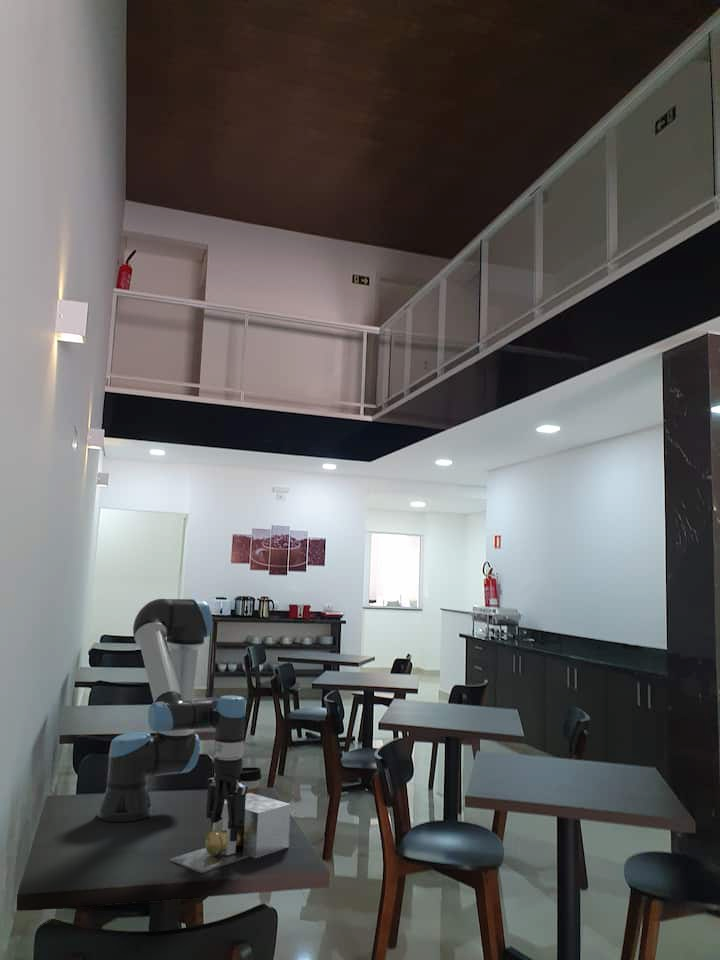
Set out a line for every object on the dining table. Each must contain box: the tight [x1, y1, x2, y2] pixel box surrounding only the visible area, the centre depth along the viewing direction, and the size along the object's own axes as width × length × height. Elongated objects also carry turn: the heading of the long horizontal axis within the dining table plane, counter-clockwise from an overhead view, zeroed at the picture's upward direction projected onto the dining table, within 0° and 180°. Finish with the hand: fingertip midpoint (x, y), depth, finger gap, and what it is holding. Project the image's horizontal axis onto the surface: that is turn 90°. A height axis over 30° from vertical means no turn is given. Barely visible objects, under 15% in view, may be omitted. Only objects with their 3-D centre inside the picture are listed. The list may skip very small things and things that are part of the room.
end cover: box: [204, 825, 245, 856], centre depth 194 cm, size 6×14×6 cm, turn 141°
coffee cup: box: [239, 766, 262, 795], centre depth 220 cm, size 8×8×15 cm
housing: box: [170, 793, 291, 874], centre depth 193 cm, size 16×28×11 cm, turn 141°
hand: (223, 851), depth 191 cm, fingers closed on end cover, 5 cm apart
